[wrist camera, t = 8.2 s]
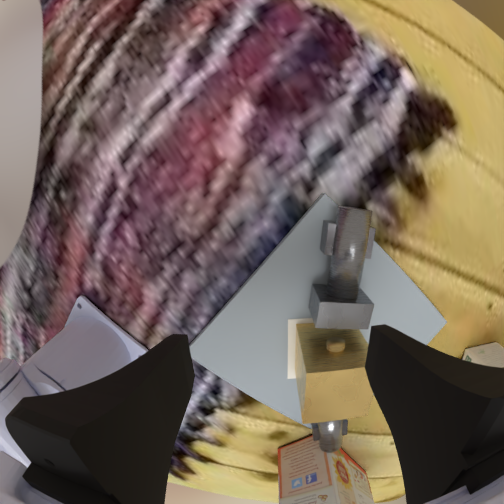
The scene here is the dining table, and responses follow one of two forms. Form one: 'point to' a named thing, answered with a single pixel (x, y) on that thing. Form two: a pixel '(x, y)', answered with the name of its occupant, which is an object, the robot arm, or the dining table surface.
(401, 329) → the board
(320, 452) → the cracker box
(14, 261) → the dining table surface
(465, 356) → the syrup box
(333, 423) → the shaft
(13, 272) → the dining table surface
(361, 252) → the shaft
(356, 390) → the tan block
